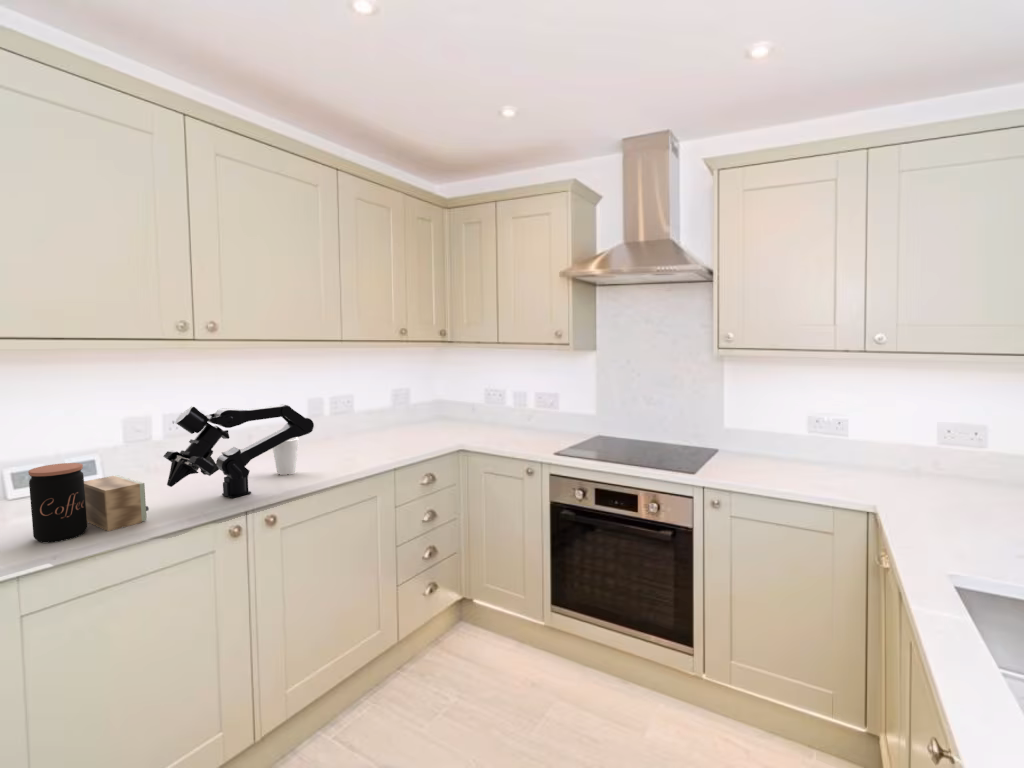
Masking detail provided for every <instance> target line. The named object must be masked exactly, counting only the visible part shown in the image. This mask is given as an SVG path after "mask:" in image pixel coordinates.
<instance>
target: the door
mask: <svg viewBox="0 0 1024 768" xmlns="http://www.w3.org/2000/svg"><path fill="white" fill-rule="evenodd" d="M115 476H116V477H119V478H122V479H126V480H129V481H132V482H136V483H139V484H140V499H141V515H142V522H144V521H147V519H148V518H147V512H149V506H148V505H147V502H146V490H145V489H146V487H145V482H142V481H139V480H135V479H131V478H130V477H125V476H121V475H115Z"/></svg>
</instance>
